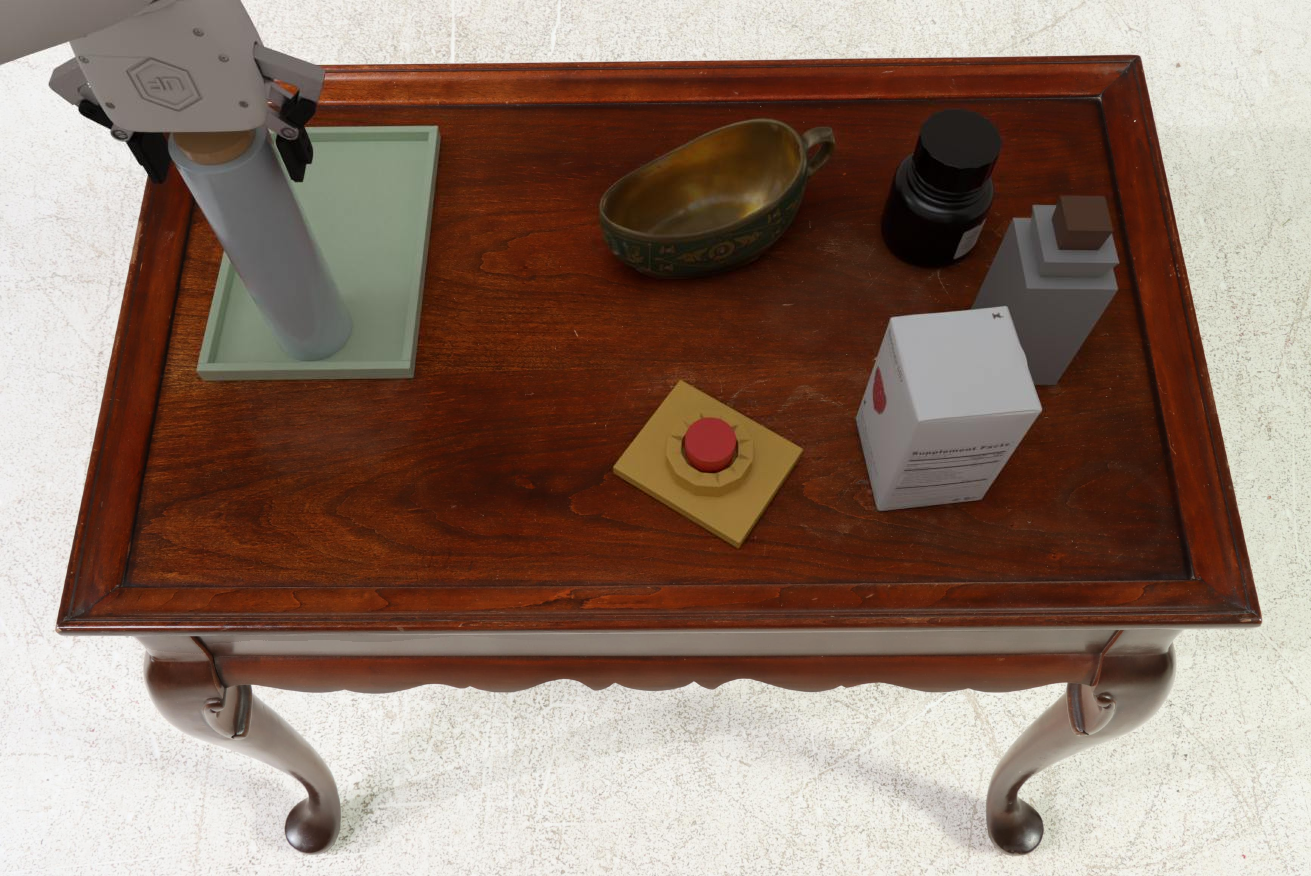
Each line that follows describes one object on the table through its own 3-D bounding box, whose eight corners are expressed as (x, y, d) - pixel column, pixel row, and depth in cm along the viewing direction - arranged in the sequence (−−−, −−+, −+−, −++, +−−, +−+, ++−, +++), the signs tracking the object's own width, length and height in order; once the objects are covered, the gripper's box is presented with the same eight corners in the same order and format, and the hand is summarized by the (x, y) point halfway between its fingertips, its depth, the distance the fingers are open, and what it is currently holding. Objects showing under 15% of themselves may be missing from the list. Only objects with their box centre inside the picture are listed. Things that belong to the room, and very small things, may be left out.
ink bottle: (980, 275, 94) (1022, 183, 83) (883, 272, 94) (913, 180, 83) (968, 193, 98) (1007, 97, 88) (876, 190, 98) (903, 94, 88)
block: (738, 549, 81) (741, 534, 78) (613, 473, 84) (611, 456, 81) (802, 455, 85) (806, 438, 82) (679, 386, 88) (680, 367, 85)
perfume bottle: (1055, 385, 88) (1143, 250, 72) (976, 384, 88) (1047, 249, 72) (1042, 320, 91) (1124, 178, 76) (966, 319, 91) (1032, 177, 76)
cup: (821, 304, 92) (839, 230, 83) (599, 290, 93) (593, 215, 84) (821, 194, 98) (838, 114, 89) (613, 181, 99) (609, 101, 90)
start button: (717, 480, 81) (718, 470, 79) (674, 455, 82) (675, 445, 80) (744, 443, 82) (745, 433, 81) (701, 419, 83) (702, 408, 82)
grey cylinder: (316, 374, 88) (211, 177, 67) (260, 338, 90) (140, 135, 69) (368, 321, 91) (282, 116, 70) (312, 287, 92) (211, 77, 71)
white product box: (852, 416, 87) (887, 311, 73) (956, 406, 87) (1010, 300, 74) (874, 514, 82) (916, 422, 69) (984, 503, 83) (1046, 409, 70)
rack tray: (413, 378, 88) (409, 368, 87) (203, 380, 88) (195, 370, 87) (441, 137, 102) (438, 125, 100) (258, 139, 101) (252, 127, 100)
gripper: (-53, -3, 56) (96, 210, 71) (267, -6, 56) (349, 208, 71) (-13, -90, 59) (122, 130, 74) (288, -93, 60) (362, 128, 75)
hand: (232, 168), depth 73 cm, fingers open, 9 cm apart
